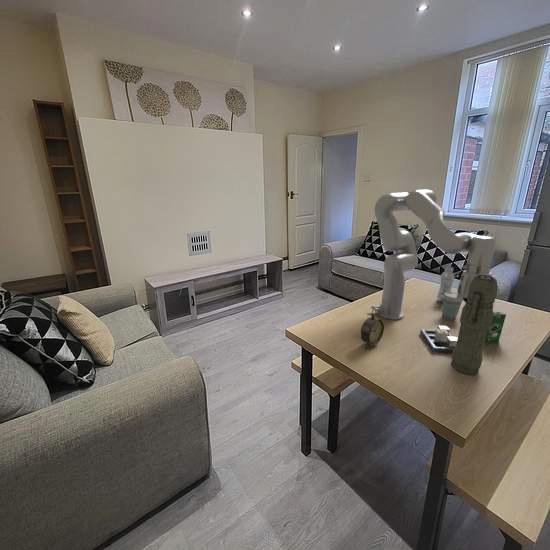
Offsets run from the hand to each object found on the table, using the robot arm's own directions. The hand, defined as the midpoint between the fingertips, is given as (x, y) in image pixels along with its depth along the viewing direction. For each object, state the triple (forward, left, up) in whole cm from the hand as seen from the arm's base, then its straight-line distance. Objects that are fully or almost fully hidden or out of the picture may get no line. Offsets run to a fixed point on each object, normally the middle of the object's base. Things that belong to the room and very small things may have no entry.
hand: (468, 312), depth 115 cm
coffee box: (+13, +4, -15) cm, 20 cm away
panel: (-8, 0, -15) cm, 17 cm away
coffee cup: (+6, +26, -15) cm, 31 cm away
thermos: (-6, -16, -15) cm, 23 cm away
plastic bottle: (+11, +46, -15) cm, 50 cm away
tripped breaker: (-8, 0, -13) cm, 16 cm away
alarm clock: (-37, -4, -15) cm, 40 cm away
